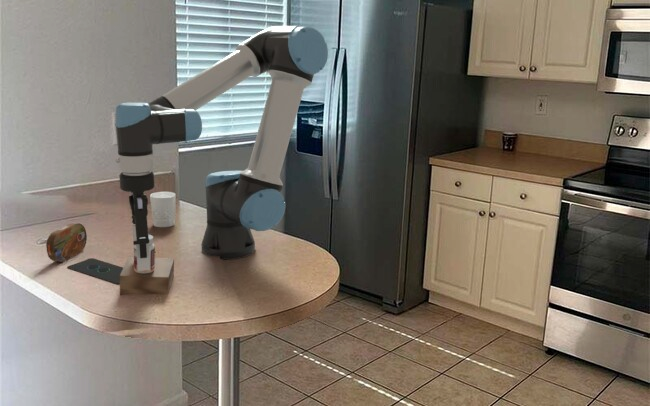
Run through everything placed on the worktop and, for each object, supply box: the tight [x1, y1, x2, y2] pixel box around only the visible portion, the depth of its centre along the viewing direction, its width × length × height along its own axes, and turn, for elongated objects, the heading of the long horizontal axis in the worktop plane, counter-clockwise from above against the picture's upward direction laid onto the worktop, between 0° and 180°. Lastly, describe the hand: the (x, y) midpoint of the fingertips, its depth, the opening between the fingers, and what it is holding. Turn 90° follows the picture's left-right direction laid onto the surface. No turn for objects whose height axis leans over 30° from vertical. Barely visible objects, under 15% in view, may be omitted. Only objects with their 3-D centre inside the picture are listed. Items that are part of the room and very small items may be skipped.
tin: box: [45, 222, 88, 263], centre depth 167 cm, size 15×3×8 cm, turn 168°
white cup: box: [149, 191, 176, 228], centre depth 196 cm, size 8×8×10 cm
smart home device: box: [67, 257, 124, 286], centre depth 156 cm, size 8×2×20 cm
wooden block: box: [119, 255, 175, 296], centre depth 148 cm, size 11×11×5 cm
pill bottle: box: [133, 233, 156, 274], centre depth 144 cm, size 5×5×8 cm
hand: (141, 259), depth 144 cm, fingers open, 13 cm apart
